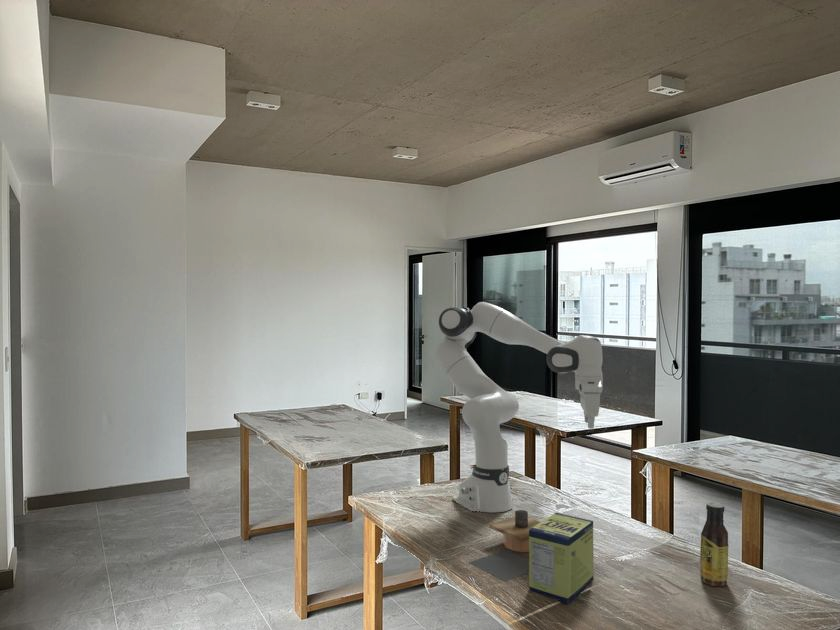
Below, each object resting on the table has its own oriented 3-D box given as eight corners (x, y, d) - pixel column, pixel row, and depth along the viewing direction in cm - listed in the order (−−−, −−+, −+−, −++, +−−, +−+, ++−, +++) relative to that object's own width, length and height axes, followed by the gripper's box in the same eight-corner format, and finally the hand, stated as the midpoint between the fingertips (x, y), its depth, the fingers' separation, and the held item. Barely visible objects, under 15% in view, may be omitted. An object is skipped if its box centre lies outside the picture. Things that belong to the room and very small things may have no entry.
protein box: (594, 581, 154) (594, 519, 154) (568, 605, 142) (568, 539, 142) (555, 570, 161) (555, 511, 161) (528, 592, 149) (527, 529, 148)
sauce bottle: (695, 576, 156) (695, 499, 156) (720, 576, 156) (720, 499, 156) (707, 588, 150) (707, 508, 149) (733, 588, 150) (733, 508, 149)
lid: (489, 527, 178) (489, 510, 178) (521, 518, 185) (521, 501, 185) (521, 541, 167) (521, 523, 167) (554, 530, 175) (554, 513, 175)
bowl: (496, 545, 178) (496, 528, 177) (521, 537, 183) (521, 520, 183) (521, 556, 169) (521, 538, 169) (546, 547, 175) (546, 530, 175)
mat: (468, 564, 165) (468, 562, 165) (506, 551, 173) (506, 549, 173) (505, 583, 153) (505, 581, 153) (543, 568, 162) (543, 566, 162)
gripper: (576, 379, 215) (576, 419, 215) (582, 388, 195) (582, 431, 195) (594, 380, 214) (594, 419, 214) (602, 388, 194) (603, 431, 194)
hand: (589, 425), depth 204 cm, fingers open, 8 cm apart
